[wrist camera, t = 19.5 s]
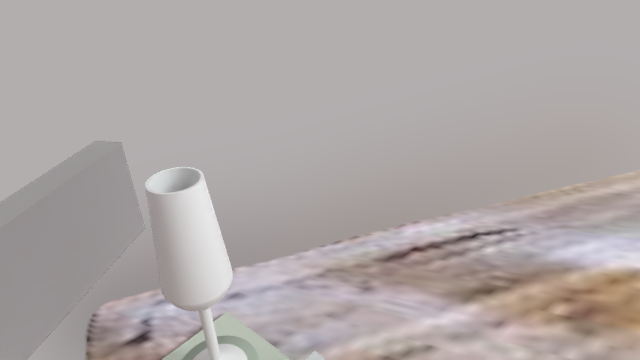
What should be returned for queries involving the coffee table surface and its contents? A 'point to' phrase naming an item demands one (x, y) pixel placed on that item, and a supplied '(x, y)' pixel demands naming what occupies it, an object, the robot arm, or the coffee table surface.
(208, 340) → the champagne flute
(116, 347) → the coffee table surface
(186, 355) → the resting pad
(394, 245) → the coffee table surface
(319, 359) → the low wall
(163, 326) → the coffee table surface
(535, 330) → the coffee table surface
